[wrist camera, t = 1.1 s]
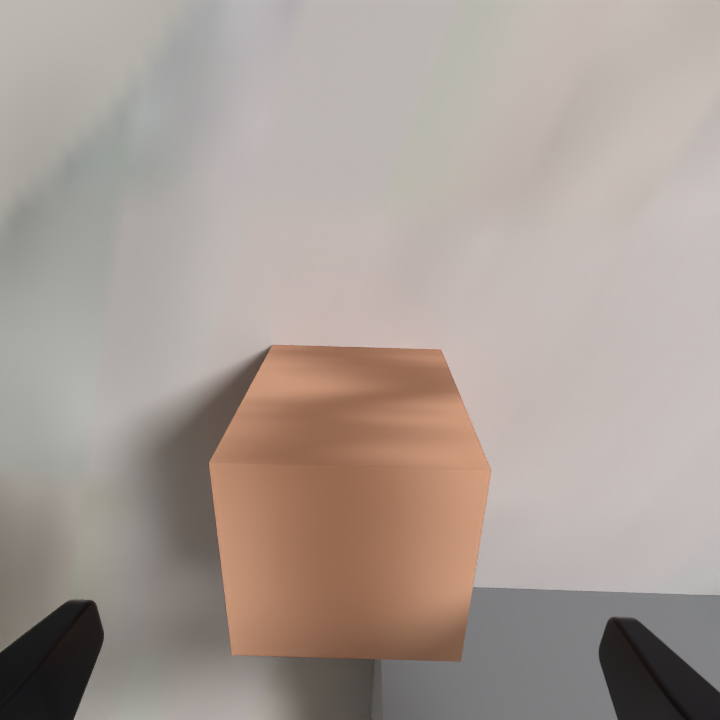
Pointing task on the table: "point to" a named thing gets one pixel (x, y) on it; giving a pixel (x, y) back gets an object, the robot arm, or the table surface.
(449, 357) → the table surface
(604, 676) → the robot arm
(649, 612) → the gray block
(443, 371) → the terracotta cube
